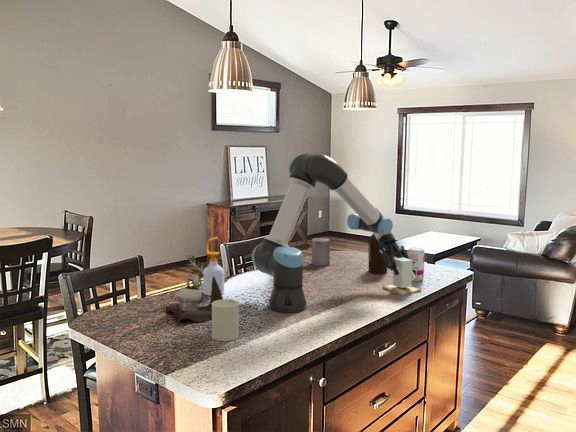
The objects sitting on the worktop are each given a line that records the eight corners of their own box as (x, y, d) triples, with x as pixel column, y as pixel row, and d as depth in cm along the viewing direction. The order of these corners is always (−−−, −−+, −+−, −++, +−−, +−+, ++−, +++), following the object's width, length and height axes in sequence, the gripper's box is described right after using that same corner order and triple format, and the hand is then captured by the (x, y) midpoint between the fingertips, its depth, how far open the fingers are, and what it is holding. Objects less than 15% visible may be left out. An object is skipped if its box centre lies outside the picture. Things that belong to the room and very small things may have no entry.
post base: (400, 295, 226) (401, 277, 225) (382, 288, 237) (383, 271, 236) (421, 291, 233) (422, 274, 231) (402, 285, 243) (403, 268, 242)
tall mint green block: (401, 287, 230) (402, 261, 229) (392, 284, 235) (393, 258, 234) (411, 286, 233) (412, 260, 232) (402, 283, 238) (403, 257, 237)
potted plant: (161, 317, 201) (173, 253, 205) (206, 321, 211) (217, 260, 214) (178, 323, 184) (190, 253, 188) (226, 328, 193) (237, 261, 197)
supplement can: (421, 277, 257) (423, 247, 255) (424, 281, 249) (426, 251, 247) (405, 276, 258) (406, 247, 256) (407, 281, 250) (408, 250, 248)
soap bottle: (222, 296, 221) (222, 239, 217) (201, 295, 221) (200, 239, 218) (225, 290, 230) (225, 235, 226) (205, 290, 230) (204, 235, 226)
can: (244, 336, 176) (244, 301, 174) (224, 343, 169) (223, 307, 168) (226, 329, 182) (226, 296, 181) (205, 336, 175) (205, 301, 174)
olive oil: (389, 270, 271) (391, 222, 267) (386, 275, 261) (388, 225, 257) (369, 268, 274) (371, 221, 271) (365, 273, 264) (367, 224, 261)
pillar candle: (320, 261, 289) (321, 234, 287) (333, 264, 282) (333, 237, 280) (307, 263, 283) (308, 236, 281) (320, 267, 276) (320, 239, 274)
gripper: (396, 240, 250) (419, 281, 238) (365, 243, 240) (387, 286, 229) (404, 231, 245) (428, 272, 233) (373, 234, 235) (396, 277, 223)
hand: (408, 279), depth 231 cm, fingers closed on tall mint green block, 6 cm apart
